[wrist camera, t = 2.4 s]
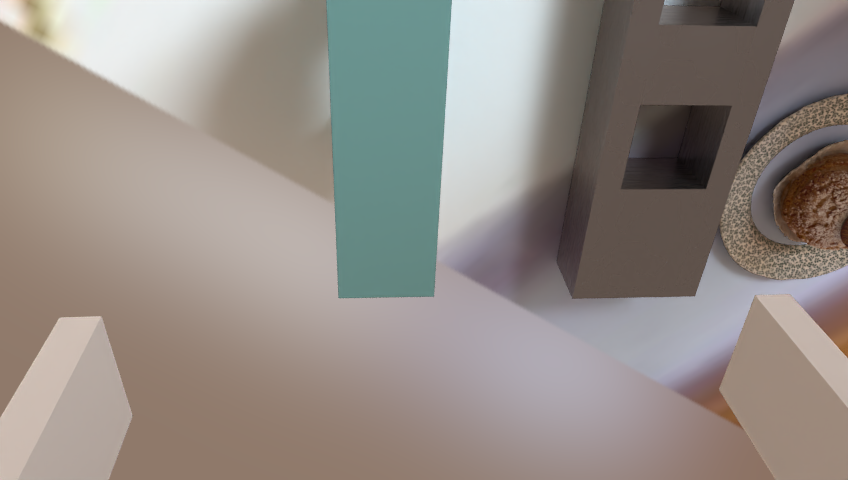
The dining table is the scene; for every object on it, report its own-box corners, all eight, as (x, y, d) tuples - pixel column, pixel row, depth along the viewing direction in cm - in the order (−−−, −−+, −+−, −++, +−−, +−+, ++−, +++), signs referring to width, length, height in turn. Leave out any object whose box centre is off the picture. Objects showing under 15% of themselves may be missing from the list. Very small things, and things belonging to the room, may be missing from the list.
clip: (338, -107, 27) (323, -59, 17) (421, -104, 28) (455, -56, 18) (345, 154, 34) (338, 298, 24) (413, 154, 34) (434, 296, 24)
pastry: (736, 297, 42) (774, 346, 38) (687, 151, 36) (726, 191, 32) (928, 215, 40) (989, 258, 36) (910, 43, 33) (981, 73, 30)
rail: (660, -305, 25) (700, -321, 22) (835, -293, 25) (897, -307, 22) (556, 261, 39) (572, 298, 36) (670, 260, 39) (694, 296, 36)
